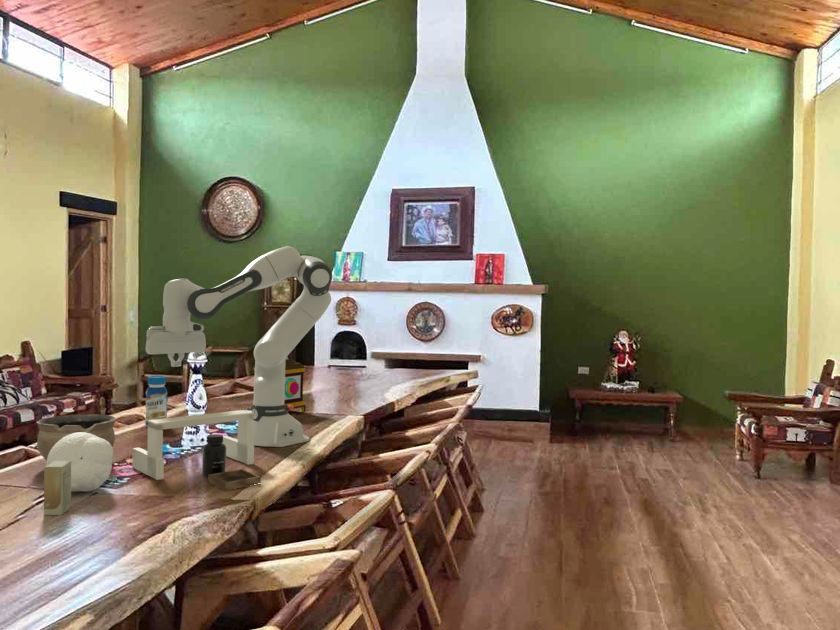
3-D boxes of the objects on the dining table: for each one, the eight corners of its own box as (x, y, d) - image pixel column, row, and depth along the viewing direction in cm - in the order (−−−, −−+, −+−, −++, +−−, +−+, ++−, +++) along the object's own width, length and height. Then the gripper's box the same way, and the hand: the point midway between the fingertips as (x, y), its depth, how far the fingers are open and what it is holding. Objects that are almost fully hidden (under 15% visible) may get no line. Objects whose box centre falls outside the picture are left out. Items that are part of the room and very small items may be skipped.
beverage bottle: (171, 424, 291) (171, 375, 290) (161, 428, 282) (162, 378, 282) (151, 423, 292) (151, 374, 291) (140, 427, 283) (141, 377, 283)
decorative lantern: (310, 412, 328) (311, 346, 327) (279, 418, 311) (281, 349, 310) (277, 407, 339) (279, 343, 337) (246, 413, 322) (247, 346, 321)
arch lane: (226, 453, 246) (227, 405, 245) (253, 463, 233) (254, 413, 232) (132, 467, 224) (133, 414, 223) (156, 479, 211) (157, 424, 210)
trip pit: (241, 476, 217) (241, 469, 217) (260, 484, 209) (260, 476, 209) (208, 482, 210) (208, 474, 210) (226, 490, 202) (226, 483, 202)
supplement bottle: (218, 478, 214) (219, 438, 213) (197, 476, 216) (198, 437, 215) (229, 473, 221) (230, 434, 220) (209, 471, 222) (210, 432, 222)
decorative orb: (70, 479, 209) (70, 424, 208) (130, 481, 208) (131, 427, 207) (30, 499, 189) (31, 439, 188) (97, 502, 188) (97, 442, 188)
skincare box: (53, 507, 183) (54, 459, 182) (71, 507, 183) (72, 460, 183) (42, 515, 177) (43, 466, 176) (61, 515, 177) (61, 466, 176)
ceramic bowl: (35, 478, 208) (35, 427, 207) (36, 461, 227) (36, 414, 227) (118, 471, 218) (118, 422, 218) (112, 455, 238) (112, 410, 237)
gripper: (150, 327, 236) (149, 369, 237) (208, 326, 251) (207, 365, 251) (142, 326, 241) (142, 367, 242) (199, 325, 255) (199, 363, 256)
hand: (176, 366), depth 246 cm, fingers closed
